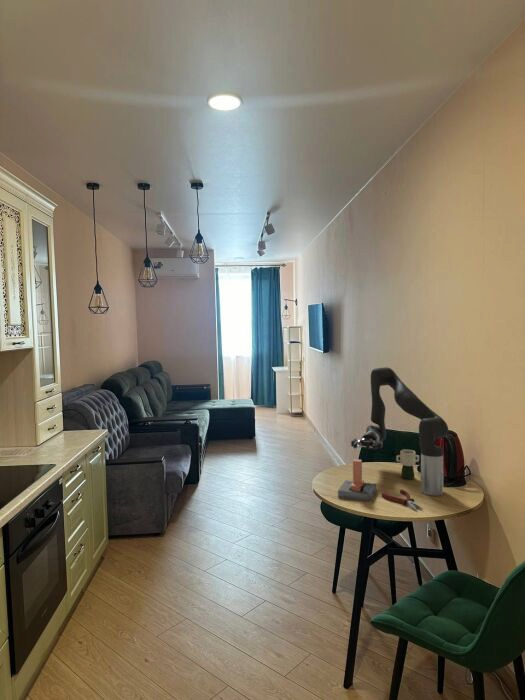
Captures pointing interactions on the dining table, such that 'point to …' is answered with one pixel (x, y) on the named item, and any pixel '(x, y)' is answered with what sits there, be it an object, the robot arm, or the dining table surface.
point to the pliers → (402, 501)
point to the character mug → (407, 462)
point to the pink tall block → (357, 476)
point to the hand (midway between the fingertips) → (364, 447)
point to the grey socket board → (364, 495)
